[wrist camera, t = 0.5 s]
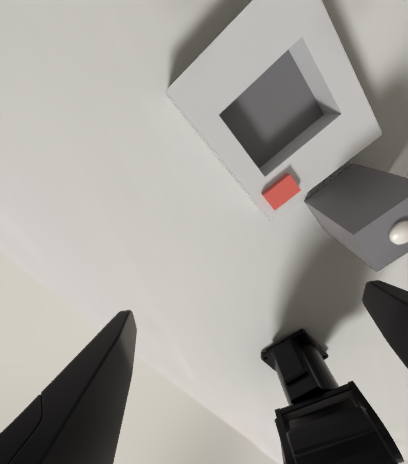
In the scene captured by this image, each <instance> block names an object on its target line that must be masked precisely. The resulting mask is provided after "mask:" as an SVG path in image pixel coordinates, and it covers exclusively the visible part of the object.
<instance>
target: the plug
mask: <svg viewBox="0 0 408 464" xmlns="http://www.w3.org/2000/svg"><path fill="white" fill-rule="evenodd" d="M304 202H305V203H306V205H307V206H308V208H309V209H310V210H311V212H312V213H313V215H314V216H315V218H316V219H317V221H318V222H319V223H320V225H321V226H322V228H323V229H324V230H325V231H326V232H327V233H328V234H330V235H331V236H332V237H333V238H335V239H336V240H337V241H338V242H340V243H341V244H342V245H343V246H345V247H346V248H347V249H349V250H350V251H351V252H352V253H354V254H355V255H356V256H357V257H359V258H360V259H361V260H362V261H364V262H365V263H366V264H367V265H369V266H370V267H371V268H372V269H374V270H375V271H376V272H378V271H379V270H381V269H382V268H384V267H385V266H387V265H389V264H390V263H392V262H393V261H395V260H397V259H398V258H400V257H401V256H403V255H405V254H406V253H408V178H405V177H401V176H397V175H393V174H390V173H386V172H382V171H379V170H375V169H371V168H367V167H364V166H360V165H356V164H352V165H351V166H349V167H348V168H347V169H346V170H344V171H343V172H342V173H340V174H339V175H338V176H336V177H335V178H334V179H332V180H331V181H330V182H328V183H327V184H326V185H324V186H323V187H322V188H320V189H319V190H318V191H317V192H315V193H314V194H313V195H311V196H310V197H309V198H307V199H306V200H305V201H304Z"/></svg>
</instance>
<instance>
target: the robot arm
mask: <svg viewBox="0 0 408 464" xmlns="http://www.w3.org/2000/svg"><path fill="white" fill-rule="evenodd" d="M362 301H363V304H364V306H365V307H366V309H367V311H368V312H369V314H370V315H371V317H372V319H373V320H374V322H375V323H376V325H377V327H378V328H379V330H380V331H381V333H382V334H383V336H384V338H385V339H386V341H387V342H388V343H389V345H390V346H391V347H392V349H393V350H394V351H395V353H396V354H397V355H398V357H399V358H400V359H401V361H402V362H403V363H404V365H405V366H406V367H407V368H408V291H406V290H403V289H400V288H398V287H395V286H393V285H390V284H387V283H385V282H382V281H379V280H376V281H369V282H367V283H366V285H365V289H364V293H363V298H362ZM136 333H137V328H136V324H135V320H134V316H133V313H132V311H131V310H126V311H120V312H119V313H118V314H117V315H116V316H115V317H114V318H113V319H112V320H111V321H110V322H109V323H108V324H107V325H106V326H105V327H104V328H103V329H102V330H101V331H100V332H99V333H98V334H97V336H95V338H94V339H93V340H92V341H91V342H90V343H89V344H88V345H87V346H86V347H85V348H84V349H83V350H82V351H81V352H80V353H79V354H78V355H77V356H76V357H75V358H74V359H73V360H72V361H71V362H70V363H69V364H68V365H67V366H66V368H65V369H64V370H63V371H62V372H61V373H60V374H59V375H58V376H57V377H56V378H55V379H54V380H53V381H52V382H51V383H50V384H49V385H48V386H47V387H46V388H45V389H44V390H43V391H42V393H41V395H38V396H37V397H36V398H35V399H34V400H33V401H32V402H31V404H30V405H29V406H28V407H27V408H26V409H25V410H24V411H23V412H22V413H21V414H20V415H19V416H18V417H17V418H16V419H15V420H14V421H13V422H12V423H11V424H10V425H9V426H8V427H6V429H4V430H3V432H1V433H0V464H113V462H114V457H115V452H116V447H117V443H118V438H119V434H120V429H121V424H122V420H123V415H124V410H125V406H126V401H127V396H128V391H129V387H130V382H131V377H132V370H133V361H134V352H135V343H136ZM327 358H328V354H327V352H326V351H325V350H324V349H323V348H322V347H321V346H320V345H319V344H318V343H317V342H316V341H315V340H314V339H313V338H312V337H311V336H310V335H309V334H308V333H307V332H306V331H305V330H299V331H298V332H296V333H295V334H293V335H291V336H290V337H288V338H287V339H285V340H283V341H282V342H280V343H278V344H277V345H275V346H274V347H272V348H270V349H269V350H267V351H266V352H264V353H262V354H261V359H262V360H263V361H264V362H265V363H266V364H268V365H269V366H270V367H271V368H272V369H274V370H275V371H276V372H277V374H278V377H279V380H280V382H281V385H282V388H283V390H284V393H285V396H286V398H287V401H288V404H289V406H287V407H284V408H282V409H280V408H279V409H276V410H275V413H276V417H277V418H276V419H275V423H276V426H277V429H278V433H279V436H280V441H281V448H282V455H283V462H284V464H398V463H402V462H404V460H403V457H402V455H401V453H400V451H399V449H398V448H397V446H396V444H395V442H394V440H393V439H392V437H391V435H390V434H389V432H388V431H387V429H386V427H385V426H384V424H383V423H382V421H381V420H380V418H379V417H378V416H377V414H376V413H375V411H374V410H373V408H372V407H371V406H370V404H369V403H368V401H367V400H366V399H365V397H364V396H363V394H362V393H361V392H360V390H359V389H358V387H357V386H356V385H355V383H354V382H353V381H350V382H348V384H345V385H343V386H340V387H339V386H338V384H337V382H336V380H335V379H334V377H333V375H332V374H331V372H330V370H329V368H328V367H327V365H326V363H325V362H324V360H325V359H327Z"/></svg>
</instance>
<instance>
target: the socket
mask: <svg viewBox="0 0 408 464" xmlns="http://www.w3.org/2000/svg"><path fill="white" fill-rule="evenodd" d="M165 93H166V94H167V96H168V97H169V98H170V99H171V100H172V102H173V103H174V104H175V105H176V107H177V108H178V109H179V110H180V112H181V113H182V114H183V115H184V117H185V118H186V119H187V120H188V121H189V123H190V124H191V125H192V126H193V128H194V129H195V130H196V131H197V133H198V134H199V135H200V136H201V137H202V139H203V140H204V141H205V142H206V144H207V145H208V146H209V147H210V149H211V150H212V151H213V152H214V154H215V155H216V156H217V157H218V158H219V160H220V161H221V162H222V163H223V165H224V166H225V167H226V168H227V170H228V171H229V172H230V173H231V175H232V176H233V177H234V178H235V179H236V181H237V182H238V183H239V184H240V186H241V187H242V188H243V189H244V191H245V192H246V193H247V194H248V196H249V197H250V198H251V199H252V200H253V202H254V203H255V204H256V205H257V207H258V208H259V209H260V210H261V212H262V213H263V214H264V215H265V216H266V217H267V219H268V220H269V221H270V220H272V219H273V218H274V217H276V216H277V215H278V214H280V213H281V212H282V211H284V210H285V209H286V208H287V207H289V206H290V205H291V204H293V203H294V202H295V201H297V200H298V199H299V198H300V197H302V196H303V195H304V194H306V193H307V192H308V191H310V190H311V189H312V188H314V187H315V186H316V185H317V184H319V183H320V182H321V181H323V180H324V179H325V178H327V177H328V176H329V175H330V174H332V173H333V172H334V171H336V170H337V169H338V168H340V167H341V166H342V165H344V164H345V163H346V162H347V161H349V160H350V159H351V158H353V157H354V156H355V155H357V154H358V153H359V152H361V151H362V150H363V149H364V148H366V147H367V146H368V145H370V144H371V143H372V142H374V141H375V140H376V139H377V138H379V137H380V136H381V135H383V133H382V131H381V129H380V127H379V125H378V122H377V120H376V118H375V116H374V114H373V111H372V109H371V107H370V105H369V103H368V101H367V98H366V96H365V94H364V92H363V90H362V87H361V85H360V83H359V81H358V79H357V76H356V74H355V72H354V70H353V68H352V65H351V63H350V61H349V59H348V57H347V55H346V52H345V50H344V48H343V46H342V44H341V41H340V39H339V37H338V35H337V33H336V30H335V28H334V26H333V24H332V22H331V19H330V17H329V15H328V13H327V11H326V9H325V6H324V4H323V2H322V0H252V1H251V2H250V3H249V4H248V5H247V6H246V7H245V8H244V10H243V11H242V12H241V13H240V14H239V15H238V16H237V17H236V18H235V19H234V20H233V21H232V22H231V23H230V24H229V25H228V26H227V27H226V28H225V29H224V30H223V31H222V32H221V33H220V35H219V36H218V37H217V38H216V39H215V40H214V41H213V42H212V43H211V44H210V45H209V46H208V47H207V48H206V49H205V50H204V51H203V52H202V53H201V54H200V55H199V56H198V57H197V58H196V60H195V61H194V62H193V63H192V64H191V65H190V66H189V67H188V68H187V69H186V70H185V71H184V72H183V73H182V74H181V75H180V76H179V77H178V78H177V79H176V80H175V81H174V82H173V83H172V85H171V86H170V87H169V88H168V89H167V90H166V91H165Z"/></svg>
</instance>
